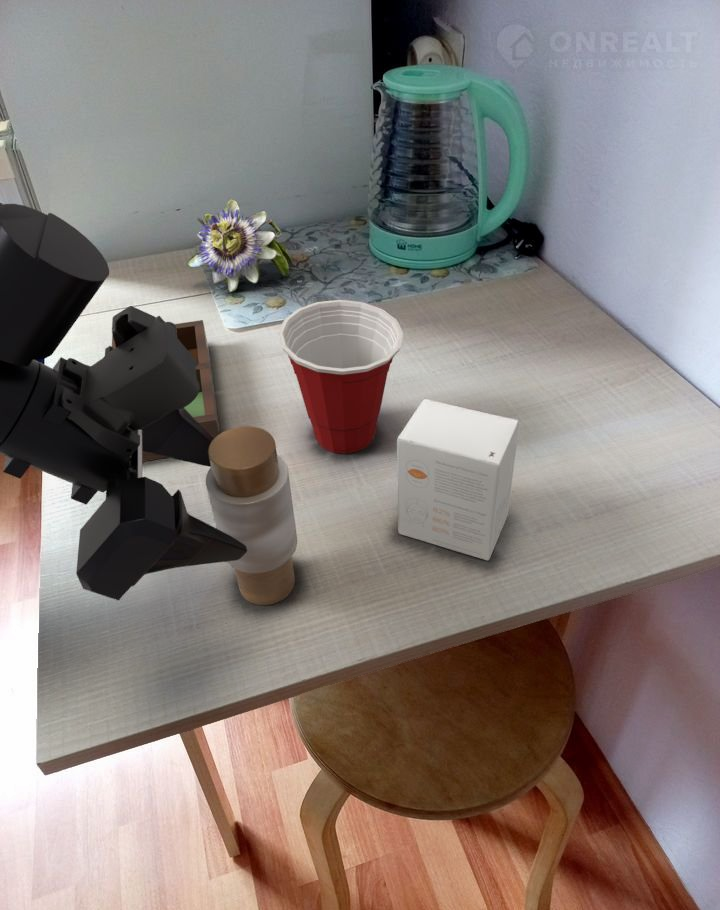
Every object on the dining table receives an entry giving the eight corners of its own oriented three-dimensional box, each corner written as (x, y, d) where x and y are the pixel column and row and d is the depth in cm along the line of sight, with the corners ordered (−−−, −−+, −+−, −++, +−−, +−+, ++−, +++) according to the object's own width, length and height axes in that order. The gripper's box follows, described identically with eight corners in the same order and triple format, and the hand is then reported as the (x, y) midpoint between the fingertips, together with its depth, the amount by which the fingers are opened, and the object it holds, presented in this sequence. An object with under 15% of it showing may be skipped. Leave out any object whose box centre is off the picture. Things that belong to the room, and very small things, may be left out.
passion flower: (240, 325, 96) (173, 269, 88) (243, 275, 103) (180, 218, 95) (304, 283, 91) (239, 219, 83) (302, 233, 98) (242, 170, 90)
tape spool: (234, 618, 53) (201, 482, 44) (228, 563, 57) (196, 428, 48) (308, 603, 54) (290, 466, 45) (296, 549, 58) (277, 414, 49)
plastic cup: (348, 490, 63) (342, 380, 55) (268, 440, 69) (252, 333, 61) (425, 432, 69) (429, 324, 61) (345, 390, 75) (339, 286, 67)
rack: (222, 448, 68) (216, 419, 66) (116, 466, 67) (106, 437, 64) (208, 346, 82) (202, 319, 80) (120, 359, 81) (112, 332, 78)
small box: (508, 517, 60) (523, 419, 53) (488, 564, 56) (502, 465, 49) (420, 491, 63) (423, 395, 56) (395, 534, 59) (395, 437, 52)
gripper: (77, 403, 31) (339, 528, 40) (96, 232, 45) (287, 353, 53) (-40, 558, 35) (221, 640, 44) (11, 357, 49) (202, 450, 57)
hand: (236, 505), depth 49 cm, fingers open, 9 cm apart
